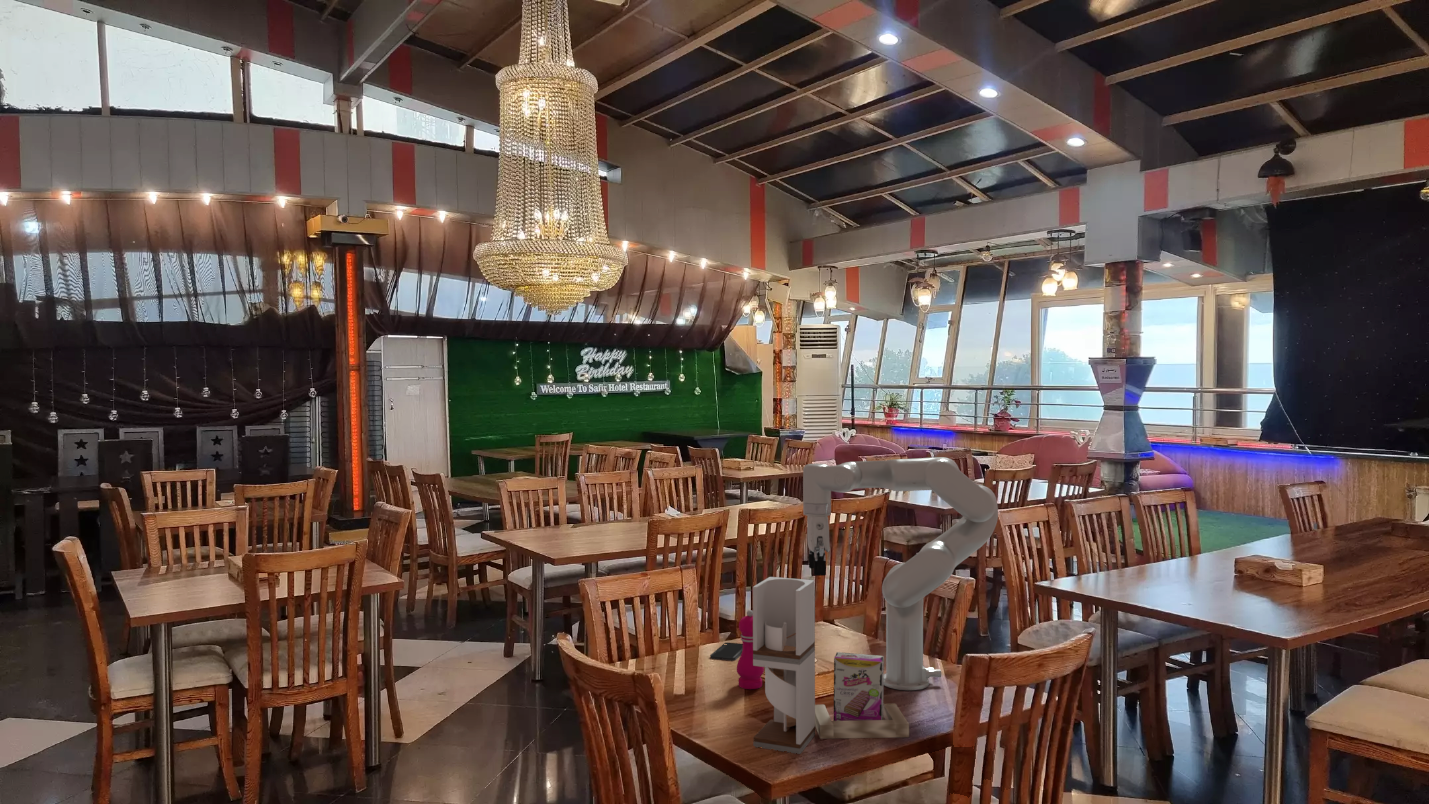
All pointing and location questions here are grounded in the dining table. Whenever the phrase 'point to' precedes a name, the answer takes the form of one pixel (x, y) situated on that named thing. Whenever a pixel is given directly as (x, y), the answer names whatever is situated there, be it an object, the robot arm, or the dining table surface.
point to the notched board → (862, 725)
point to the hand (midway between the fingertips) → (817, 571)
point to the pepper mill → (748, 656)
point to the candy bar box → (858, 687)
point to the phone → (728, 652)
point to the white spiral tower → (786, 660)
